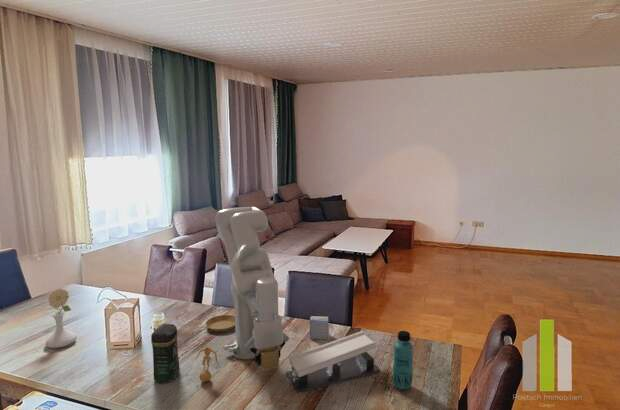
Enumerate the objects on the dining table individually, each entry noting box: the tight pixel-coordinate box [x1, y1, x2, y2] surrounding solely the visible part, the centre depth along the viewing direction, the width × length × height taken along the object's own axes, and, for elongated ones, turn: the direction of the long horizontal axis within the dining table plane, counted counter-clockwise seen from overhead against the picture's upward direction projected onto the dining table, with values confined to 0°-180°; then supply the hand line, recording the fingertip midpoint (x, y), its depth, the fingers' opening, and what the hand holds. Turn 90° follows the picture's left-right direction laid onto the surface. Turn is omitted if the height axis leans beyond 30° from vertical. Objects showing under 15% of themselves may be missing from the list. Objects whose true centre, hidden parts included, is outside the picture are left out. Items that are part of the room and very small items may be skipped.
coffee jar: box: [150, 323, 180, 383], centre depth 144 cm, size 10×8×19 cm
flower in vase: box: [45, 287, 78, 349], centre depth 168 cm, size 13×11×25 cm
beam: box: [288, 330, 377, 377], centre depth 144 cm, size 30×10×2 cm, turn 111°
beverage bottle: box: [392, 330, 414, 390], centre depth 135 cm, size 6×7×20 cm
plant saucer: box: [205, 314, 235, 333], centre depth 184 cm, size 15×15×3 cm
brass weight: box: [259, 346, 280, 371], centre depth 139 cm, size 6×6×6 cm
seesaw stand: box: [285, 351, 381, 394], centre depth 145 cm, size 32×12×7 cm, turn 112°
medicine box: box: [309, 315, 330, 340], centre depth 172 cm, size 8×4×9 cm, turn 84°
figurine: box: [195, 346, 218, 383], centre depth 142 cm, size 8×6×12 cm
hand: (267, 361), depth 140 cm, fingers closed on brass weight, 6 cm apart
